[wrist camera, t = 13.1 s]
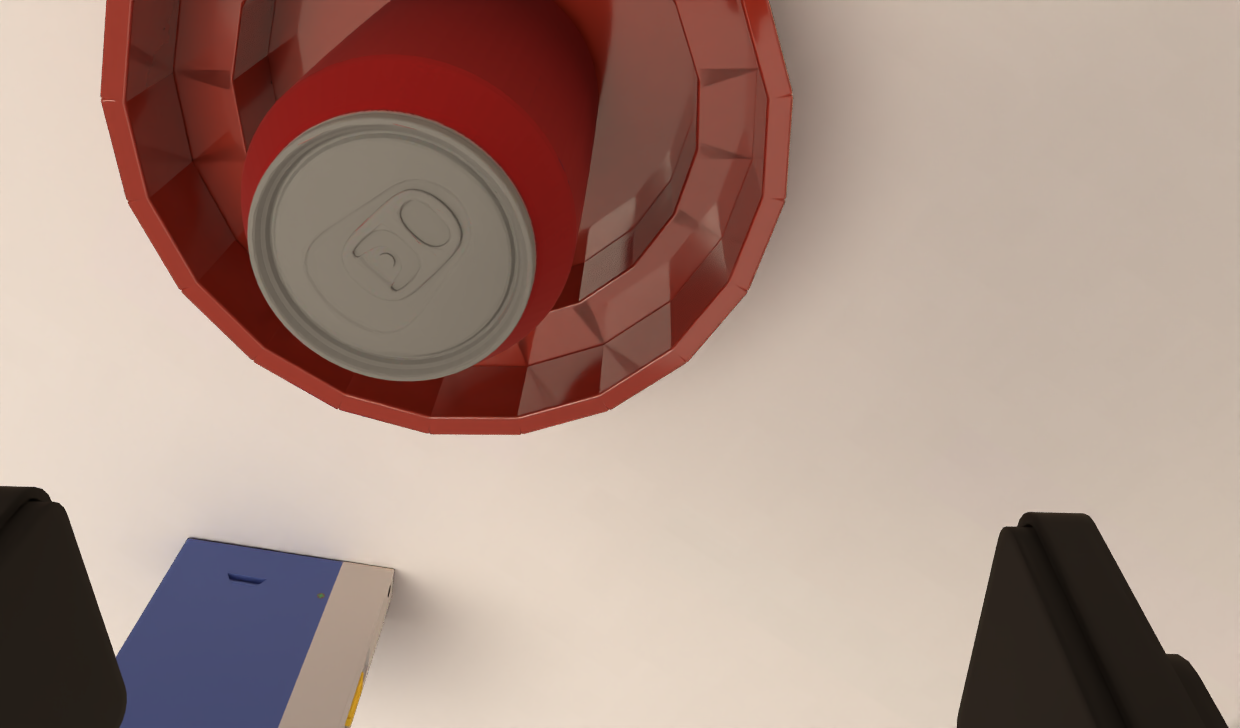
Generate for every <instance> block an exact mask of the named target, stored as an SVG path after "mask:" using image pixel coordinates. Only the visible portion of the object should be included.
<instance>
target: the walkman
mask: <svg viewBox="0 0 1240 728" xmlns="http://www.w3.org/2000/svg"><path fill="white" fill-rule="evenodd" d="M393 579H394V569H389V568H383V567H377V566H370V565H364V564H357V563H351V562H345V561H343V562H341V561H334V560H328V559H321V558H315V557H308V556H302V555H295V554H288V553H282V552H275V551H269V550H262V549H256V548H249V547H242V546H236V545H229V544H223V543H216V542H210V541H203V540H196V539H190V538H188V539H187V540H186V542H185V544H184V545H183V547H182V549H181V550H180V552H179V554H178V555H177V557H176V559H175V560H174V562H173V564H172V565H171V567H170V569H169V570H168V572H167V574H166V575H165V577H164V578H163V580H162V582H161V583H160V585H159V587H158V588H157V590H156V592H155V593H154V595H153V597H152V598H151V600H150V602H149V603H148V605H147V607H146V608H145V610H144V612H143V613H142V615H141V617H140V618H139V620H138V621H137V623H136V625H135V626H134V628H133V630H132V631H131V633H130V635H129V636H128V638H127V640H126V641H125V643H124V645H123V646H122V648H121V650H120V651H119V653H118V655H117V656H116V660H117V663H118V666H119V669H120V672H121V675H122V678H123V681H124V684H125V687H126V692H127V704H126V711H125V715H124V718H123V721H122V723H121V725H120V728H351V724H352V721H353V718H354V715H355V712H356V709H357V706H358V702H359V699H360V696H361V693H362V690H363V687H364V683H365V680H366V677H367V674H368V671H369V668H370V664H371V661H372V658H373V655H374V652H375V649H376V645H377V642H378V639H379V636H380V633H381V630H382V627H383V623H384V620H385V616H386V613H387V610H388V606H389V603H390V600H391V597H392V590H393Z"/></svg>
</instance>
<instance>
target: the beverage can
mask: <svg viewBox="0 0 1240 728" xmlns="http://www.w3.org/2000/svg"><path fill="white" fill-rule="evenodd" d="M597 113H598V85H597V77H596V72H595V68H594V65H593V61H592V58H591V55H590V53H589V50H588V48H587V46H586V44H585V42H584V40H583V38H582V36H581V34H580V33H579V31H578V29H577V28H576V27H575V25H574V24H573V22H572V21H571V20H570V19H569V17H568V16H567V15H566V14H565V13H564V12H563V11H562V10H561V9H560V8H559V7H558V6H557V5H556V4H555V3H554V2H553V1H552V0H391V1H389V2H388V3H387V4H386V5H384V6H383V7H382V8H381V9H379V10H378V11H377V12H376V13H374V14H373V15H372V16H371V17H370V18H368V19H367V20H366V21H365V22H364V23H363V24H361V25H360V26H359V27H358V28H357V29H355V30H354V31H353V32H352V33H351V34H350V35H348V36H347V37H346V38H345V39H344V40H343V41H342V42H340V43H339V44H338V45H337V46H336V47H335V48H334V49H332V50H331V51H330V52H329V53H328V54H327V55H326V56H324V57H323V58H322V59H321V60H320V61H319V62H318V63H317V64H316V65H315V66H314V67H312V68H311V69H310V70H309V71H308V72H307V73H306V74H305V75H304V76H303V77H302V78H301V79H300V80H298V81H297V82H296V83H295V84H294V85H293V86H292V87H291V88H290V89H289V90H288V91H287V92H286V93H285V94H284V95H283V96H282V97H281V98H279V99H278V100H277V101H276V103H275V104H274V105H273V106H272V107H271V109H270V110H269V111H268V112H267V114H266V115H265V117H264V118H263V120H262V121H261V123H260V124H259V126H258V128H257V130H256V132H255V134H254V136H253V138H252V141H251V143H250V146H249V148H248V151H247V155H246V158H245V162H244V167H243V172H242V180H241V211H242V220H243V225H244V230H245V235H246V238H247V242H248V249H249V255H250V261H251V265H252V269H253V272H254V275H255V278H256V280H257V283H258V286H259V288H260V290H261V292H262V294H263V296H264V297H265V299H266V301H267V303H268V304H269V306H270V308H271V309H272V310H273V312H274V313H275V315H276V316H277V317H278V318H279V320H280V321H281V322H282V323H283V325H284V326H285V327H286V328H287V329H288V330H289V331H290V332H291V333H292V334H293V335H294V336H295V337H296V338H297V339H298V340H300V341H301V342H302V343H303V344H304V345H306V346H307V347H308V348H310V349H311V350H312V351H314V352H315V353H317V354H318V355H320V356H321V357H323V358H325V359H327V360H328V361H330V362H332V363H334V364H336V365H338V366H340V367H342V368H345V369H347V370H350V371H352V372H355V373H359V374H362V375H365V376H369V377H373V378H378V379H384V380H391V381H423V380H430V379H437V378H441V377H444V376H448V375H451V374H455V373H458V372H460V371H462V370H464V369H467V368H469V367H471V366H473V365H475V364H477V363H478V362H481V361H484V360H486V359H489V358H491V357H494V356H496V355H498V354H499V353H501V352H503V351H505V350H507V349H508V348H510V347H511V346H513V345H515V344H516V343H518V342H519V341H520V340H522V339H523V338H524V337H526V336H527V335H528V334H529V333H530V332H531V331H533V330H534V329H535V328H536V327H537V326H538V325H539V324H540V323H541V321H542V320H543V319H544V318H545V317H546V316H547V314H548V313H549V312H550V310H551V309H552V308H553V306H554V305H555V303H556V301H557V300H558V298H559V296H560V295H561V293H562V290H563V288H564V286H565V284H566V282H567V279H568V276H569V273H570V271H571V267H572V263H573V259H574V254H575V249H576V244H577V239H578V233H579V228H580V223H581V218H582V213H583V207H584V201H585V195H586V189H587V183H588V177H589V171H590V164H591V158H592V151H593V144H594V138H595V130H596V121H597Z"/></svg>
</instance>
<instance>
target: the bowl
mask: <svg viewBox="0 0 1240 728" xmlns="http://www.w3.org/2000/svg"><path fill="white" fill-rule="evenodd" d="M389 1H391V0H107V1H106V17H105V32H104V48H103V64H102V80H101V95H100V96H101V98H102V99H101V103H102V107H103V111H104V114H105V118H106V122H107V126H108V130H109V134H110V138H111V142H112V145H113V149H114V153H115V157H116V161H117V165H118V169H119V173H120V176H121V180H122V184H123V188H124V192H125V196H126V199H127V200H128V204H129V206H130V208H131V209H132V211H133V213H134V214H135V216H136V218H137V219H138V221H139V223H140V224H141V226H142V228H143V229H144V231H145V233H146V234H147V236H148V238H149V239H150V241H151V243H152V244H153V246H154V248H155V249H156V251H157V253H158V254H159V256H160V258H161V260H162V261H163V263H164V265H165V266H166V268H167V270H168V271H169V273H170V275H171V276H172V278H173V280H174V281H175V283H176V285H177V286H178V288H179V289H180V290H182V293H183V294H184V295H185V296H186V297H187V298H188V299H189V300H190V301H191V302H192V303H193V304H194V305H195V306H196V307H197V308H198V309H199V310H200V311H201V312H202V313H204V314H205V315H206V316H207V317H208V318H209V319H210V320H211V321H212V322H213V323H214V324H215V325H216V326H217V327H218V328H219V329H220V330H221V331H222V332H223V333H224V334H225V335H226V336H227V337H228V338H229V339H230V340H231V341H232V342H233V343H235V344H236V345H237V346H238V347H239V348H240V349H241V350H242V351H243V352H244V353H245V354H246V355H247V356H248V357H249V358H250V359H251V360H254V362H255V363H256V364H258V365H260V366H262V367H263V368H265V369H267V370H269V371H270V372H272V373H274V374H276V375H278V376H279V377H281V378H283V379H285V380H286V381H288V382H290V383H292V384H293V385H295V386H297V387H299V388H300V389H302V390H304V391H306V392H308V393H309V394H311V395H313V396H315V397H316V398H318V399H320V400H322V401H323V402H325V403H327V404H329V405H330V406H332V407H334V408H336V409H338V408H339V409H340V410H342V411H346V412H349V413H353V414H357V415H361V416H364V417H368V418H372V419H375V420H379V421H383V422H386V423H390V424H394V425H398V426H401V427H405V428H409V429H412V430H416V431H420V432H423V433H430V434H468V435H520V434H521V433H522V434H526V433H529V432H533V431H537V430H540V429H544V428H548V427H551V426H555V425H559V424H562V423H566V422H570V421H573V420H577V419H581V418H584V417H588V416H592V415H595V414H599V413H602V412H606V411H608V410H611V409H613V408H615V407H616V406H618V405H619V404H621V403H623V402H624V401H626V400H628V399H629V398H631V397H632V396H634V395H636V394H637V393H639V392H640V391H642V390H644V389H645V388H647V387H648V386H650V385H652V384H653V383H655V382H657V381H658V380H660V379H661V378H663V377H665V376H666V375H668V374H669V373H671V372H673V371H674V370H676V369H677V368H679V367H681V366H682V365H684V364H685V363H686V362H688V361H689V360H690V359H691V358H692V356H693V355H694V354H695V353H696V352H697V351H698V349H699V348H700V347H701V346H702V345H703V344H704V342H705V341H706V340H707V339H708V338H709V337H710V336H711V334H712V333H713V332H714V331H715V330H716V329H717V327H718V326H719V325H720V324H721V323H722V322H723V320H724V319H725V318H726V317H727V316H728V315H729V313H730V312H731V311H732V310H733V309H734V308H735V306H736V305H737V304H738V303H739V302H740V301H741V299H742V298H743V297H744V296H745V295H746V294H747V292H748V291H747V290H749V288H750V286H751V284H752V281H753V279H754V276H755V274H756V272H757V269H758V267H759V264H760V262H761V259H762V257H763V255H764V252H765V250H766V247H767V245H768V242H769V240H770V238H771V235H772V233H773V230H774V228H775V226H776V223H777V221H778V218H779V216H780V213H781V211H782V209H783V206H784V204H785V198H786V195H787V180H788V165H789V151H790V136H791V121H792V107H793V95H792V87H791V83H790V79H789V75H788V72H787V68H786V64H785V60H784V56H783V52H782V49H781V45H780V41H779V37H778V33H777V29H776V25H775V22H774V18H773V14H772V10H771V6H770V2H769V0H552V1H553V2H554V3H555V4H556V5H557V6H558V7H559V8H560V9H561V10H562V11H563V12H564V13H565V14H566V15H567V16H568V17H569V19H570V20H571V21H572V22H573V24H574V25H575V27H576V28H577V29H578V31H579V33H580V34H581V36H582V38H583V40H584V42H585V44H586V46H587V48H588V50H589V53H590V55H591V58H592V61H593V65H594V68H595V72H596V77H597V85H598V113H597V121H596V130H595V138H594V144H593V151H592V158H591V164H590V171H589V177H588V183H587V189H586V195H585V201H584V207H583V213H582V218H581V223H580V228H579V233H578V239H577V244H576V249H575V254H574V259H573V263H572V267H571V271H570V273H569V276H568V279H567V282H566V284H565V286H564V288H563V290H562V293H561V295H560V296H559V298H558V300H557V301H556V303H555V305H554V306H553V308H552V309H551V310H550V312H549V313H548V314H547V316H546V317H545V318H544V319H543V320H542V321H541V323H540V324H539V325H538V326H537V327H536V328H535V329H534V330H533V331H531V332H530V333H529V334H528V335H527V336H526V337H524V338H523V339H522V340H520V341H519V342H518V343H516V344H515V345H513V346H511V347H510V348H508V349H507V350H505V351H503V352H501V353H499V354H498V355H496V356H494V357H491V358H489V359H486V360H484V361H481V362H478V363H477V364H475V365H473V366H471V367H469V368H467V369H464V370H462V371H460V372H458V373H455V374H451V375H448V376H444V377H441V378H437V379H430V380H423V381H391V380H384V379H378V378H373V377H369V376H365V375H362V374H359V373H355V372H352V371H350V370H347V369H345V368H342V367H340V366H338V365H336V364H334V363H332V362H330V361H328V360H327V359H325V358H323V357H321V356H320V355H318V354H317V353H315V352H314V351H312V350H311V349H310V348H308V347H307V346H306V345H304V344H303V343H302V342H301V341H300V340H298V339H297V338H296V337H295V336H294V335H293V334H292V333H291V332H290V331H289V330H288V329H287V328H286V327H285V326H284V325H283V323H282V322H281V321H280V320H279V318H278V317H277V316H276V315H275V313H274V312H273V310H272V309H271V308H270V306H269V304H268V303H267V301H266V299H265V297H264V296H263V294H262V292H261V290H260V288H259V286H258V283H257V280H256V278H255V275H254V272H253V269H252V265H251V261H250V255H249V249H248V242H247V238H246V235H245V230H244V225H243V220H242V211H241V180H242V172H243V167H244V162H245V158H246V155H247V151H248V148H249V146H250V143H251V141H252V138H253V136H254V134H255V132H256V130H257V128H258V126H259V124H260V123H261V121H262V120H263V118H264V117H265V115H266V114H267V112H268V111H269V110H270V109H271V107H272V106H273V105H274V104H275V103H276V101H277V100H278V99H279V98H281V97H282V96H283V95H284V94H285V93H286V92H287V91H288V90H289V89H290V88H291V87H292V86H293V85H294V84H295V83H296V82H297V81H298V80H300V79H301V78H302V77H303V76H304V75H305V74H306V73H307V72H308V71H309V70H310V69H311V68H312V67H314V66H315V65H316V64H317V63H318V62H319V61H320V60H321V59H322V58H323V57H324V56H326V55H327V54H328V53H329V52H330V51H331V50H332V49H334V48H335V47H336V46H337V45H338V44H339V43H340V42H342V41H343V40H344V39H345V38H346V37H347V36H348V35H350V34H351V33H352V32H353V31H354V30H355V29H357V28H358V27H359V26H360V25H361V24H363V23H364V22H365V21H366V20H367V19H368V18H370V17H371V16H372V15H373V14H374V13H376V12H377V11H378V10H379V9H381V8H382V7H383V6H384V5H386V4H387V3H388V2H389Z"/></svg>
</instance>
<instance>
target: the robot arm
mask: <svg viewBox="0 0 1240 728" xmlns="http://www.w3.org/2000/svg"><path fill="white" fill-rule="evenodd" d="M126 704H127V692H126V687H125V684H124V681H123V678H122V675H121V672H120V669H119V666H118V663H117V660H116V657H115V654H114V651H113V648H112V645H111V642H110V639H109V636H108V633H107V631H106V628H105V625H104V622H103V619H102V616H101V613H100V610H99V607H98V604H97V601H96V598H95V595H94V592H93V589H92V586H91V583H90V580H89V577H88V574H87V571H86V568H85V565H84V562H83V559H82V556H81V554H80V551H79V548H78V545H77V542H76V539H75V536H74V533H73V530H72V527H71V524H70V521H69V518H68V515H67V513H66V511H65V509H64V507H63V506H62V505H61V504H60V503H56V502H52V501H51V499H50V497H49V495H48V494H47V493H46V492H45V491H44V490H43V489H40V488H36V487H12V486H0V728H120V725H121V723H122V721H123V718H124V715H125V711H126ZM957 728H1228V726H1227V724H1226V722H1225V721H1224V719H1223V717H1222V715H1221V714H1220V712H1219V710H1218V708H1217V707H1216V705H1215V703H1214V701H1213V699H1212V698H1211V696H1210V694H1209V692H1208V691H1207V689H1206V687H1205V685H1204V684H1203V682H1202V680H1201V678H1200V677H1199V675H1198V674H1197V672H1196V671H1195V669H1194V668H1193V667H1192V665H1191V664H1190V663H1189V661H1187V660H1186V659H1184V658H1183V657H1181V656H1180V655H1178V654H1166V653H1165V651H1164V650H1163V648H1162V646H1161V644H1160V642H1159V640H1158V638H1157V637H1156V635H1155V633H1154V631H1153V629H1152V627H1151V626H1150V624H1149V622H1148V620H1147V618H1146V616H1145V615H1144V613H1143V611H1142V609H1141V607H1140V605H1139V604H1138V602H1137V600H1136V598H1135V596H1134V594H1133V593H1132V591H1131V589H1130V587H1129V585H1128V583H1127V581H1126V580H1125V578H1124V576H1123V574H1122V572H1121V570H1120V569H1119V567H1118V565H1117V563H1116V561H1115V559H1114V558H1113V556H1112V554H1111V552H1110V550H1109V548H1108V547H1107V545H1106V543H1105V541H1104V539H1103V537H1102V536H1101V534H1100V532H1099V530H1098V528H1097V526H1096V525H1095V523H1094V522H1093V520H1092V519H1091V517H1090V516H1088V515H1086V514H1083V513H1043V512H1027V513H1024V514H1023V516H1022V517H1021V518H1020V520H1019V523H1018V526H1017V527H1004V528H1003V529H1002V530H1001V532H1000V535H999V538H998V542H997V546H996V551H995V555H994V559H993V564H992V568H991V572H990V577H989V581H988V586H987V590H986V594H985V599H984V603H983V607H982V612H981V616H980V620H979V625H978V629H977V634H976V638H975V642H974V647H973V651H972V655H971V660H970V664H969V669H968V673H967V677H966V682H965V686H964V690H963V695H962V699H961V703H960V708H959V712H958V718H957Z"/></svg>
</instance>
